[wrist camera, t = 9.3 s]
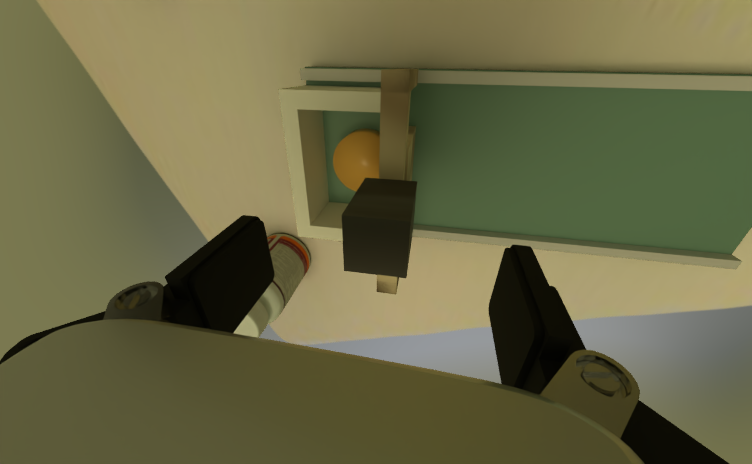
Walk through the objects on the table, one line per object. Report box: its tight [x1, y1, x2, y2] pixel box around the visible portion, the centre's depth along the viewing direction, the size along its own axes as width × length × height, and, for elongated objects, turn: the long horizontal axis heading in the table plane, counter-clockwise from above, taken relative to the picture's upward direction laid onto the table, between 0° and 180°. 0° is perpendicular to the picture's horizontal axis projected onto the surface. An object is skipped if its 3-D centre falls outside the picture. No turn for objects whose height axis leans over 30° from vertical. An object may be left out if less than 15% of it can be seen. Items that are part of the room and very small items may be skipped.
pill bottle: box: [234, 234, 310, 338], centre depth 30 cm, size 6×6×11 cm
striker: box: [342, 69, 419, 294], centre depth 19 cm, size 14×3×14 cm, turn 0°
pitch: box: [278, 67, 752, 269], centre depth 22 cm, size 14×36×6 cm, turn 90°
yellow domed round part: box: [333, 128, 380, 192], centre depth 25 cm, size 5×5×2 cm
